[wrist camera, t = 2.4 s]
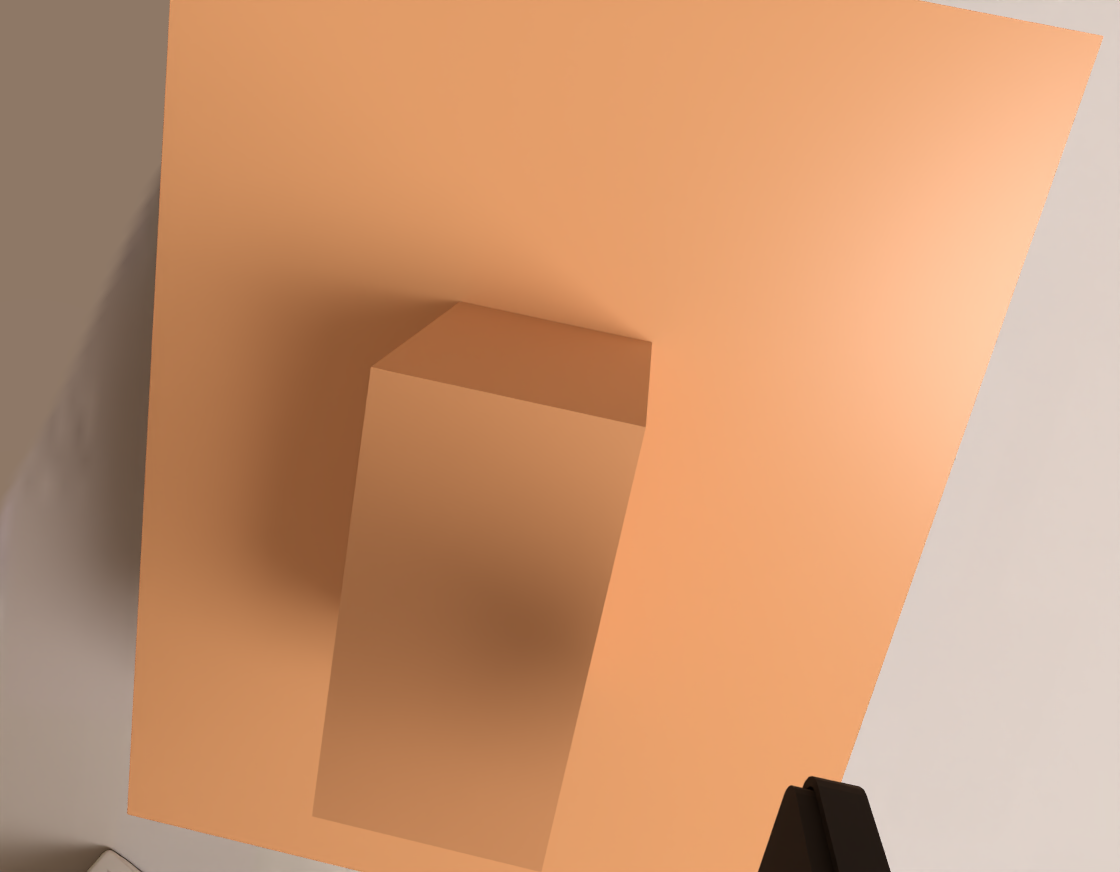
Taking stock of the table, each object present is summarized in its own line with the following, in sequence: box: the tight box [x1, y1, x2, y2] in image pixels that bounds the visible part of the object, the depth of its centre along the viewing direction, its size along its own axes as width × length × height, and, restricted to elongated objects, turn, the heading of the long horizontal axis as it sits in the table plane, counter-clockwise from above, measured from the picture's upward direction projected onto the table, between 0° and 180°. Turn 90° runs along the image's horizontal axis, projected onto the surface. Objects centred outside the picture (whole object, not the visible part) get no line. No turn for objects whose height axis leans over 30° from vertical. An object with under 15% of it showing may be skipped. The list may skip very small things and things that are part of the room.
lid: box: [127, 0, 1103, 872], centre depth 18 cm, size 17×22×9 cm
